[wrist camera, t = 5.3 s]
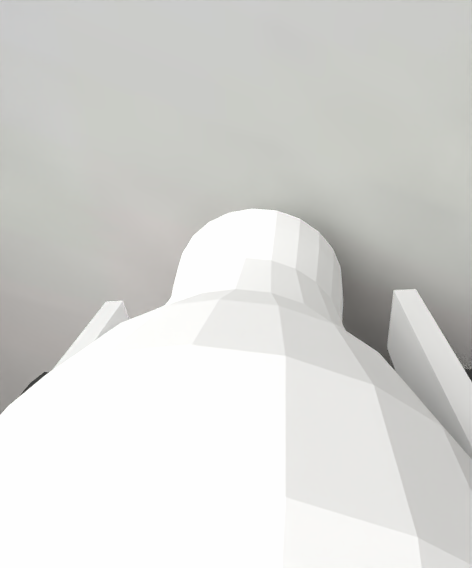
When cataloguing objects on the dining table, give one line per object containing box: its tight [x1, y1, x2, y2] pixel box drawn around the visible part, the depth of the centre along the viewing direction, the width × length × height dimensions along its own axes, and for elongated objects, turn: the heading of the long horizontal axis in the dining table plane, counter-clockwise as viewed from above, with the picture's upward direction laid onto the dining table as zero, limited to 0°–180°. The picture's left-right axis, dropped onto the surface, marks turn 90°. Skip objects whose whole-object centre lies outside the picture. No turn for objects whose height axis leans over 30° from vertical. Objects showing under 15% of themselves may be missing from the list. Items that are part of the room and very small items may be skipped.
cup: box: [0, 209, 472, 568], centre depth 10 cm, size 11×11×15 cm
